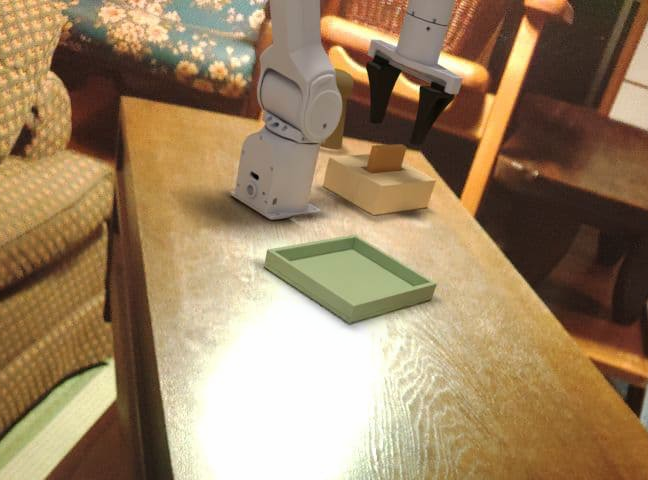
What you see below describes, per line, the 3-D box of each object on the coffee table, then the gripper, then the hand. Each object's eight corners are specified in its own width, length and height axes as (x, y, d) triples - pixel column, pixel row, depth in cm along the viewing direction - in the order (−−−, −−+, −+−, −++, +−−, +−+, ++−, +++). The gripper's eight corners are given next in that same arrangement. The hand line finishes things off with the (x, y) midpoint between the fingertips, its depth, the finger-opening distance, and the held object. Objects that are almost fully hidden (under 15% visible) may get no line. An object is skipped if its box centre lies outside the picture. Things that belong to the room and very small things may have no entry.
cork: (337, 155, 121) (354, 79, 113) (302, 143, 121) (317, 66, 113) (344, 147, 125) (361, 73, 118) (310, 135, 125) (325, 61, 118)
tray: (349, 323, 78) (354, 305, 76) (263, 266, 83) (266, 249, 81) (431, 299, 88) (437, 283, 86) (351, 250, 93) (355, 234, 91)
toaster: (372, 219, 103) (381, 185, 100) (321, 189, 106) (328, 156, 104) (429, 210, 112) (439, 179, 109) (380, 183, 116) (388, 152, 113)
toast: (364, 200, 106) (377, 148, 102) (358, 197, 107) (371, 145, 102) (392, 196, 111) (407, 146, 106) (387, 193, 111) (401, 143, 106)
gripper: (488, 39, 95) (451, 152, 103) (403, 3, 100) (375, 113, 109) (458, 36, 90) (422, 154, 99) (370, -2, 95) (344, 113, 104)
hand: (395, 133), depth 103 cm, fingers open, 7 cm apart
